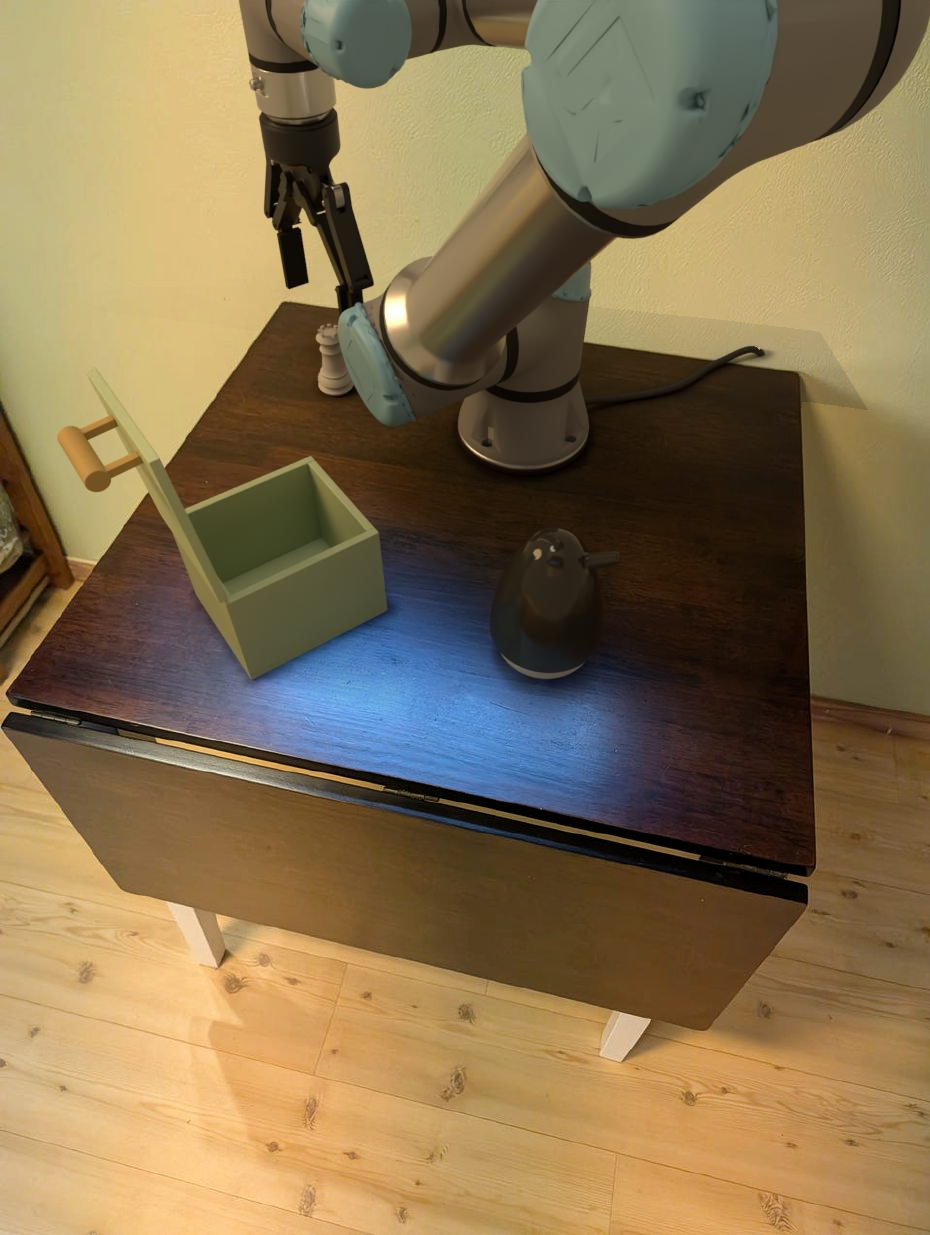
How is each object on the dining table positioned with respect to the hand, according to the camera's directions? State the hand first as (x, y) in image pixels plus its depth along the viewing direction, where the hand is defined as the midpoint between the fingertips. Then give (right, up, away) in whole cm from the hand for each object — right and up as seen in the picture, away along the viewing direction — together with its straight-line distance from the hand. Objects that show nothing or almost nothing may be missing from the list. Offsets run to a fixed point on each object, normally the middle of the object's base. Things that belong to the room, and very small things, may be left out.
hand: (325, 311), depth 97 cm
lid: (-7, -25, -32) cm, 41 cm away
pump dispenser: (+24, -39, -18) cm, 49 cm away
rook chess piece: (0, -7, +8) cm, 11 cm away
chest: (-1, -34, -14) cm, 37 cm away
